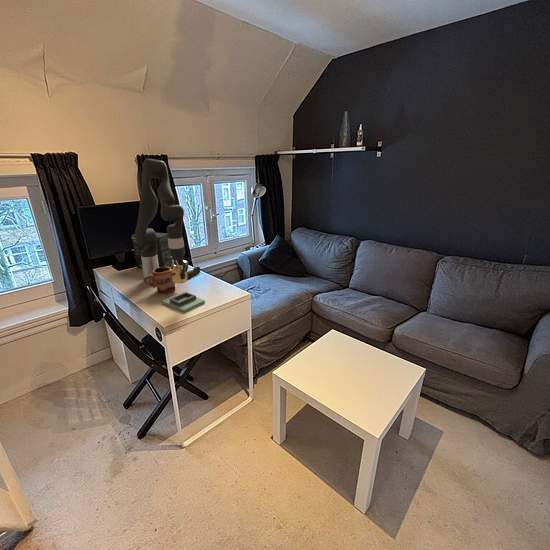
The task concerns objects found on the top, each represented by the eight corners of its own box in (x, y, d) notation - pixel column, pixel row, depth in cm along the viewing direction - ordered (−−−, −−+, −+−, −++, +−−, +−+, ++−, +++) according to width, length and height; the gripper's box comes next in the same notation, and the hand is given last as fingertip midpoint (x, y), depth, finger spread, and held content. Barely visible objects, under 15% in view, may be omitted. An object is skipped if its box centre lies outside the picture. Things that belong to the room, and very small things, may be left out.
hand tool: (184, 282, 187) (183, 275, 186) (179, 280, 189) (178, 274, 187) (203, 272, 203) (203, 266, 202) (199, 271, 205) (198, 265, 203)
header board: (161, 303, 159) (161, 297, 158) (182, 294, 170) (182, 288, 169) (184, 312, 150) (183, 306, 148) (204, 302, 160) (204, 296, 159)
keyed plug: (169, 283, 152) (168, 270, 149) (183, 277, 159) (182, 265, 156) (174, 285, 150) (173, 272, 147) (189, 279, 157) (187, 267, 154)
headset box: (136, 268, 210) (130, 232, 201) (147, 262, 221) (142, 228, 211) (163, 271, 204) (158, 234, 195) (173, 266, 215) (169, 230, 205)
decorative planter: (150, 300, 163) (146, 276, 158) (142, 292, 171) (138, 270, 166) (184, 290, 175) (182, 268, 170) (175, 284, 183) (173, 262, 178)
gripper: (191, 246, 147) (194, 278, 153) (173, 242, 154) (177, 273, 161) (179, 250, 141) (183, 283, 147) (160, 245, 149) (165, 277, 155)
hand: (180, 277), depth 154 cm, fingers closed on keyed plug, 4 cm apart
